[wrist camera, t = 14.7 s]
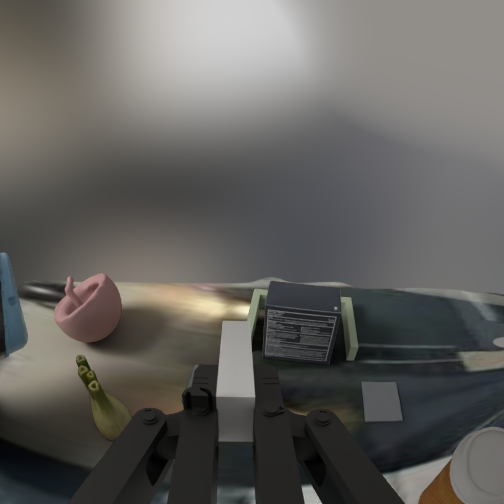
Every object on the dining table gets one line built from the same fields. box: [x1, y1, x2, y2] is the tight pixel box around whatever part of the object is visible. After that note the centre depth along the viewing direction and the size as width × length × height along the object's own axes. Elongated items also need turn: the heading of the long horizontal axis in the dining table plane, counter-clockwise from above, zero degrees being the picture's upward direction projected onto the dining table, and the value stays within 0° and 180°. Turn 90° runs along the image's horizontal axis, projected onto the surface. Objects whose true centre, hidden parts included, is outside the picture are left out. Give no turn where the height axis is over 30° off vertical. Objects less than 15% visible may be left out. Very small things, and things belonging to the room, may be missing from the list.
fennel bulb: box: [76, 355, 132, 441], centre depth 31 cm, size 6×5×12 cm
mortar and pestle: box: [54, 273, 122, 342], centre depth 47 cm, size 12×12×12 cm
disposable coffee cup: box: [419, 427, 504, 504], centre depth 20 cm, size 10×10×12 cm
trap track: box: [182, 289, 403, 422], centre depth 47 cm, size 30×24×3 cm
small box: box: [262, 281, 342, 365], centre depth 46 cm, size 11×6×10 cm, turn 80°
